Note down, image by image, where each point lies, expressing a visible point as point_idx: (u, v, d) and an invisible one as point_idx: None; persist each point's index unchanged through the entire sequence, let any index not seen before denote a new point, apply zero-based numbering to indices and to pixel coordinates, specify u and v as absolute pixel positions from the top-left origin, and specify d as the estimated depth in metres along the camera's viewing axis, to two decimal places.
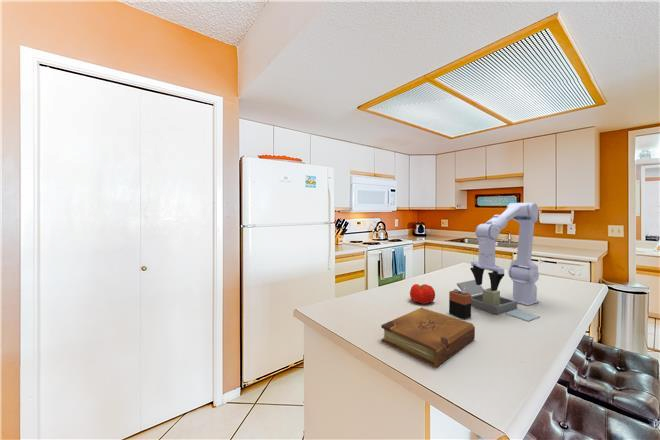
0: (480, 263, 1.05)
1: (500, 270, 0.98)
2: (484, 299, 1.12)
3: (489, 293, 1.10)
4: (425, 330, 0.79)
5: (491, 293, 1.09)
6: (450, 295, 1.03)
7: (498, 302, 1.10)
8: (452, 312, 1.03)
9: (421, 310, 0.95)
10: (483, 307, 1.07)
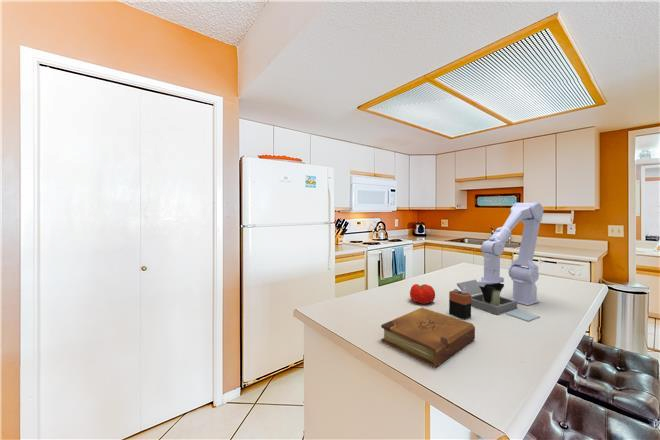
0: None
1: (479, 282, 1.08)
2: None
3: None
4: (425, 330, 0.79)
5: None
6: (450, 295, 1.03)
7: (498, 302, 1.10)
8: (452, 312, 1.03)
9: (421, 310, 0.95)
10: (483, 307, 1.07)
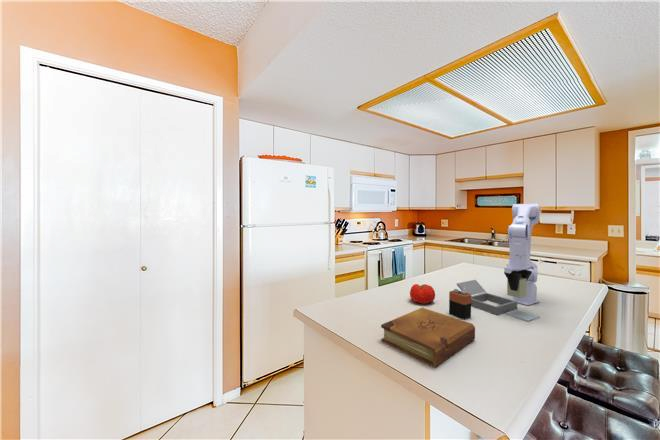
0: None
1: (505, 269, 1.00)
2: (508, 287, 1.04)
3: None
4: (425, 330, 0.79)
5: None
6: (450, 295, 1.03)
7: (524, 291, 1.02)
8: (452, 312, 1.03)
9: (422, 310, 0.95)
10: (483, 307, 1.07)
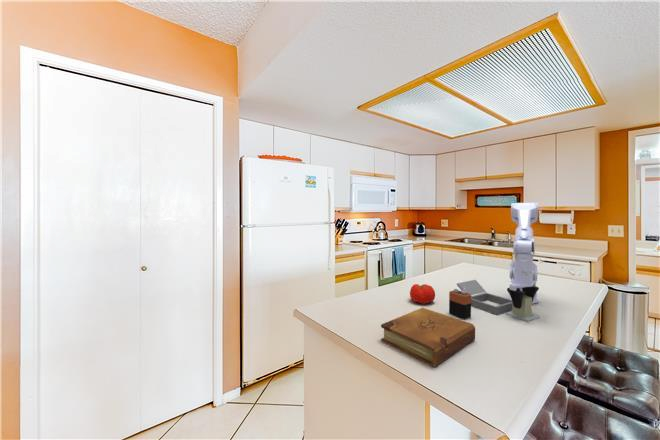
0: None
1: (510, 286, 0.99)
2: (513, 306, 1.02)
3: None
4: (425, 330, 0.80)
5: (522, 300, 0.99)
6: (450, 295, 1.03)
7: (530, 310, 1.00)
8: (452, 312, 1.03)
9: (422, 310, 0.95)
10: (483, 307, 1.07)
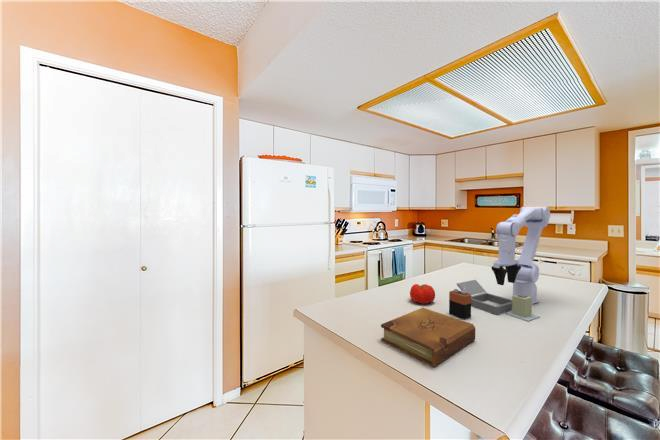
0: None
1: (494, 264, 1.06)
2: (513, 306, 1.02)
3: (520, 299, 1.00)
4: (425, 330, 0.80)
5: (522, 300, 0.99)
6: (450, 295, 1.03)
7: (530, 310, 1.00)
8: (452, 312, 1.03)
9: (422, 310, 0.95)
10: (483, 307, 1.07)
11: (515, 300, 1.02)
